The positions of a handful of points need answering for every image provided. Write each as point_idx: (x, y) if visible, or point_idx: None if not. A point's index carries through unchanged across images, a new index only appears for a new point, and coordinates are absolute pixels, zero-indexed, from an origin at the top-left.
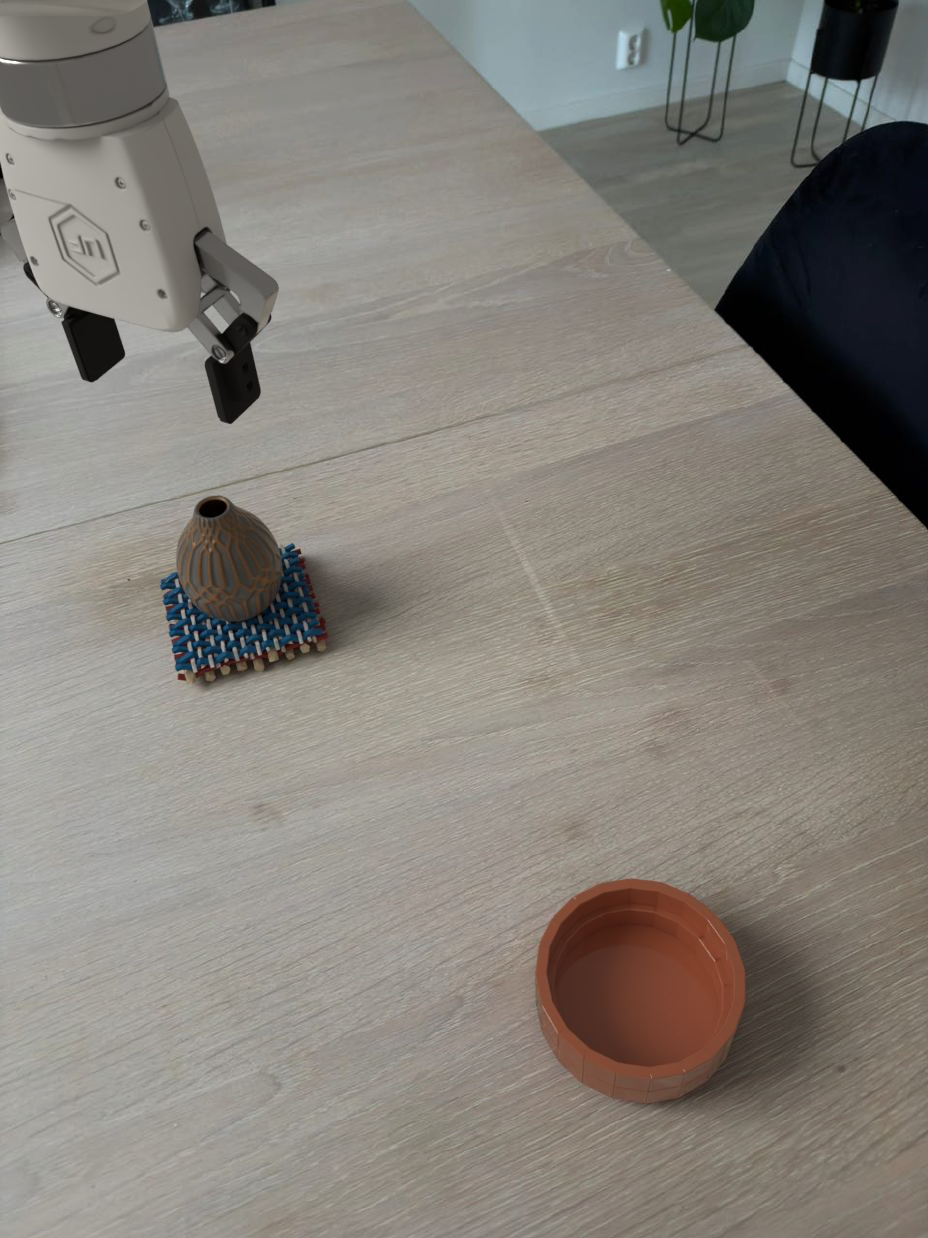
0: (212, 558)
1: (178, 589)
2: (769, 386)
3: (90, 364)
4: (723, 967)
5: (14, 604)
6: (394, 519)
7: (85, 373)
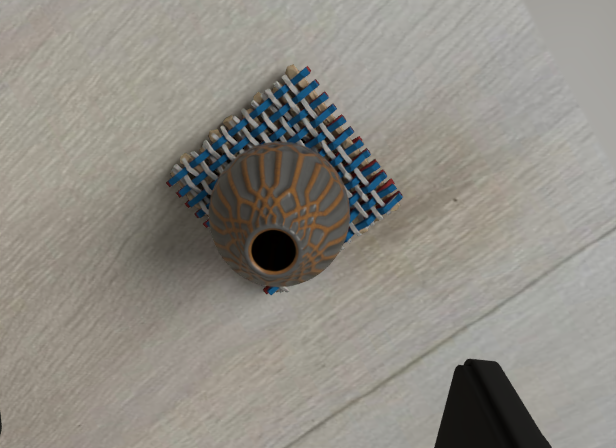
0: (257, 181)
1: (368, 187)
2: None
3: (473, 407)
4: None
5: (581, 120)
6: (200, 367)
7: (481, 375)
